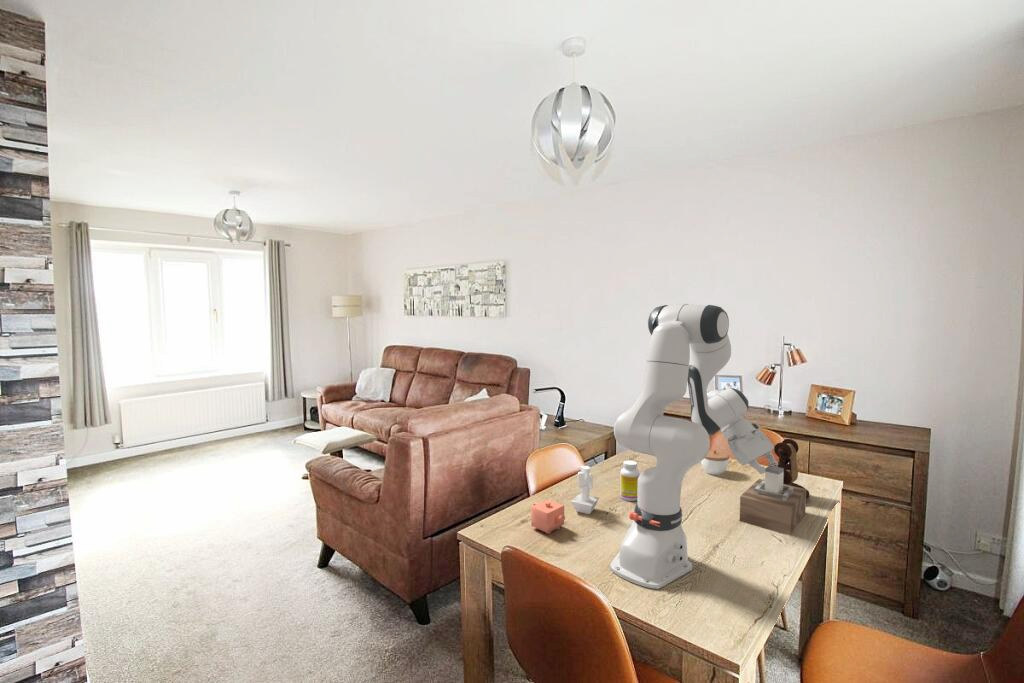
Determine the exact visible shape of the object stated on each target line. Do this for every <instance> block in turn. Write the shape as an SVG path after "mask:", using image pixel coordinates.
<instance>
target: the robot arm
mask: <svg viewBox="0 0 1024 683" xmlns="http://www.w3.org/2000/svg"><path fill="white" fill-rule="evenodd" d="M647 319H648V320H647V326H648V331H649V333H650V336H651V337H650V340H649V343H648V347H647V353H646V360H645V361H646V362H645V367H644V375H643V381H642V386H641V390H640V392H639V394H638V397H637V398H636V400H635V402H634V403H633V404H632V405H631V407H629V408H628V409H627V410H626V411H624V412H622V413H621V414H619V416H618V417H617V419H616V420H615V422H614V425H613V435H614V438H615V440H616V443H617V444H618V445H620V446H621V447H624V448H626V449H628V450H630V451H632V452H636V453H640V454H644V455H649V456H652V457H655V458H656V466H655V465H654V466H652V467H649V468H646V469H644V470H643V471H642V472H640V475H639V477H638V483H637V500H636V501H637V502H636V503H635V507H634V510H633V511H630V513H629V516H628V517H629V520H630V521H631V520H632V522H631V524H630V526H629V528H628V530H627V531H626V534H625V535H624V538H623V539H622V541H621V543H620V547H619V551H618V553H617V554H616V555H615V557H614V558H613V560H612V561H611V562H610V563H609V569H610V570H611V571H612V572H613V573H614V574H615V575H617V576H618V577H620V578H622V579H624V580H626V581H628V582H631V583H633V584H636V585H638V586H642V587H644V588H648V589H656V590H657V589H659V590H660V589H661V588H663V587H665V586H666V585H669V584H670V583H672V582H673V581H675V580H677V579H679V578H680V577H682V576H683V575H686V574H687V573H689V572H690V571H692V570H693V563H692V562H691V561H690V560H689V559H688V558H689V557H688V542H687V541H688V540H687V535H686V533H685V531H684V529H683V527H682V525H681V524H682V519H683V510H682V507H681V494H682V486H683V485H682V484H683V480H684V477H685V476H686V474H687V473H688V471H689V470H690V469H691V468H692V467H693V466H695V465H697V464H699V463H701V461H702V460H703V459H704V458H705V457H706V455H707V454H708V452H709V450H711V438H710V436H714V435H715V434H717V433H718V432H719V431H720V432H721V434H722V435H723V436H724V437H725V439H727V440H726V441H727V445H728V448H729V451H730V452H731V453H732V455H733V456H734V458H735V459H736V461H737V462H738V463H739V464H740V465H742V466H743V467H744V466H747V465H748V464H749V466H750V467H751V468H753V469H754V470H756V471H757V472H758V474H760V475H764V474H765V472H766V469H765V468H766V467H764V466H762V465H761V464H760V463H759V462H758V459H759V458H762V457H764V458H765V459H767V460H768V462H769V466H770V465H771V466H775V467H778V466H777V465H778V461H777V460H776V458H775V456H774V455H773V453H772V451H774V447H775V445H774V444H773V443H772V442H771V440H770V439H769V436H767V435H766V434H765V432H763V431H762V430H760V429H761V427H760V425H759V424H757V423H755V422H751V421H748V420H747V419H746V418H745V417H743V416H744V415H745V414H746V413H747V411H748V410H749V404H750V403H749V400H748V398H747V397H746V396H745V394H744V393H743V392H742V391H741V390H739V389H737V388H732V387H728V388H726V389H723V390H719V389H712V390H710V391H708V387H709V384H710V383H711V381H712V380H713V379H714V378H715V376H716V375H717V374H719V372H720V371H721V370H723V369H724V367H725V366H726V365H727V364H728V362H729V361H730V358H731V357H732V345H731V344H732V343H731V341H730V338H729V337H730V336H729V335H728V331H729V327H730V320H729V319H730V318H729V315H728V313H727V311H725V310H724V308H722V307H721V306H718V305H713V304H708V305H702V304H689V303H682V304H681V303H680V304H679V303H677V304H671V305H670V304H669V305H668V304H664V305H660V306H657V307H655V308H653V310H652V311H651V312H650V314H649V317H648V318H647ZM690 350H691V351H690ZM690 357H691V358H690ZM687 388H688V395H689V402H690V420H691V421H690V420H688V419H685V418H678V417H674V416H673V417H672V416H669V415H668V416H667V415H664V413H665V410H666V408H667V407H668V405H670V404H673V403H675V402H677V401H680V400H681V399H683V397H684V396H685V395H686V393H687Z"/></svg>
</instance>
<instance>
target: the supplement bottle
mask: <svg viewBox="0 0 1024 683" xmlns="http://www.w3.org/2000/svg"><path fill="white" fill-rule="evenodd" d="M622 463H623V464H622V465H623V468H621V470H620V483H619V486H620V490H619V492H620V494H619V495H620V498H621V499H622V500H624V501H629V502H635V501H637V483H638V477H639V475H640V474H641V472H640V470H639V469H638V462H637V461H635V460H624V461H623V462H622Z"/></svg>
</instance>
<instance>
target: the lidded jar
mask: <svg viewBox="0 0 1024 683" xmlns="http://www.w3.org/2000/svg"><path fill="white" fill-rule="evenodd" d="M729 459H730V454H729V453H726V452H724V451H723V450H717V449H709V452H708V454H707V455H706V457H705V458H704V459H703V460H702V461H700V465H701V467H702V468H703V470H704V471H705V473H706V474H709V475H713V476H721V475H723V473H725V472H726V471H727V469H728V467H729Z"/></svg>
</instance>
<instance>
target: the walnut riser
mask: <svg viewBox="0 0 1024 683" xmlns="http://www.w3.org/2000/svg"><path fill="white" fill-rule="evenodd" d="M806 489H807V488H805V489H803V488H799V487H794V486H790V485H785V484H783V493H782V494H780V493H775V492H771V491H767V490H765V479H764V478H763V479H762V478H758V479H757V480H756V481H754V483H753V484H752V485H751V486H750V487H748V488H747V489H746V491H744V492H743V493H742V494H741V495H740V496H739V521H740V522H742V523H746V524H748V525H753V526H755V527H759V528H763V529H766V530H769V531H773V532H777V533H780V534H783V535H787V536H791V535H792V533H793V532H794V530H795V528H797V526H798V524H799V523H800V522H801V520H802V519H803V517H805V516H804V515H805V514H806V508H807V506H806V505H807V504H806V503H807V502H806V501H807V499H806Z"/></svg>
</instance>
